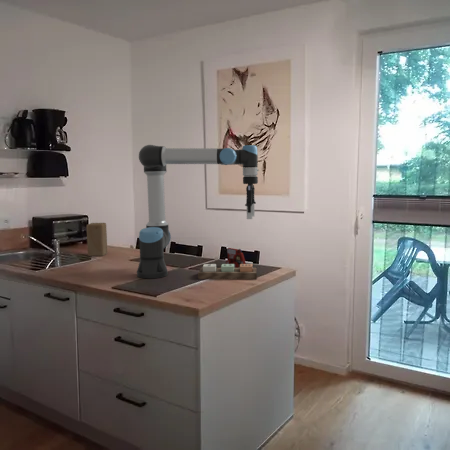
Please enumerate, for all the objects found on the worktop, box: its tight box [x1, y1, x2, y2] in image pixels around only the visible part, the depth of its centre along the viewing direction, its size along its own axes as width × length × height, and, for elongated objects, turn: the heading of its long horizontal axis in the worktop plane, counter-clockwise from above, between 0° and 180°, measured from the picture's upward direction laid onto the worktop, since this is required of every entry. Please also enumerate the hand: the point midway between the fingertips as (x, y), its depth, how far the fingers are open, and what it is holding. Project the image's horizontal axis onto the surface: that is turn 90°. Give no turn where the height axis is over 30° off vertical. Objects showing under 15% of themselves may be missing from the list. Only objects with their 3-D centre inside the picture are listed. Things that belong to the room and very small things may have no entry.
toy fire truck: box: [224, 247, 247, 268], centre depth 239 cm, size 7×12×10 cm, turn 42°
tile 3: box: [239, 263, 254, 272], centre depth 219 cm, size 6×6×3 cm
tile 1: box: [202, 263, 217, 272], centre depth 220 cm, size 6×6×3 cm
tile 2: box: [220, 263, 234, 272], centre depth 220 cm, size 6×6×3 cm
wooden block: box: [86, 222, 108, 257], centre depth 282 cm, size 10×10×20 cm
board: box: [197, 267, 258, 280], centre depth 220 cm, size 28×12×3 cm, turn 86°
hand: (250, 217), depth 231 cm, fingers open, 13 cm apart
